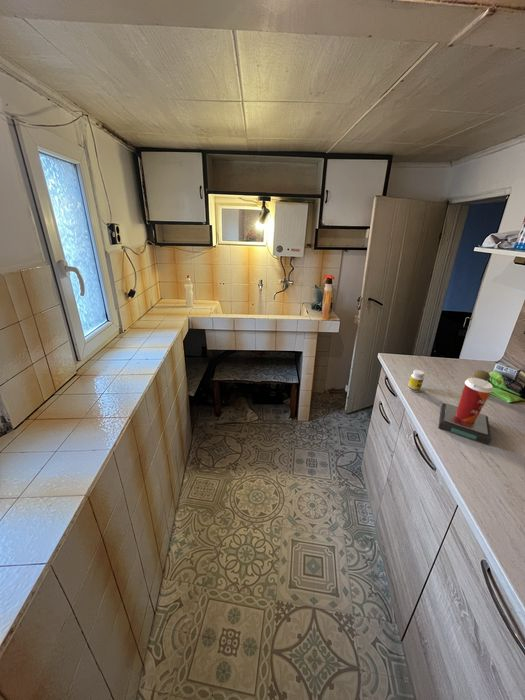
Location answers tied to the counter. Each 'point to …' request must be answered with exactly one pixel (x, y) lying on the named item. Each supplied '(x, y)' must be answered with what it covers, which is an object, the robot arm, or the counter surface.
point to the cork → (482, 375)
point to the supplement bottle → (416, 381)
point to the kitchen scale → (464, 425)
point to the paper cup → (473, 399)
